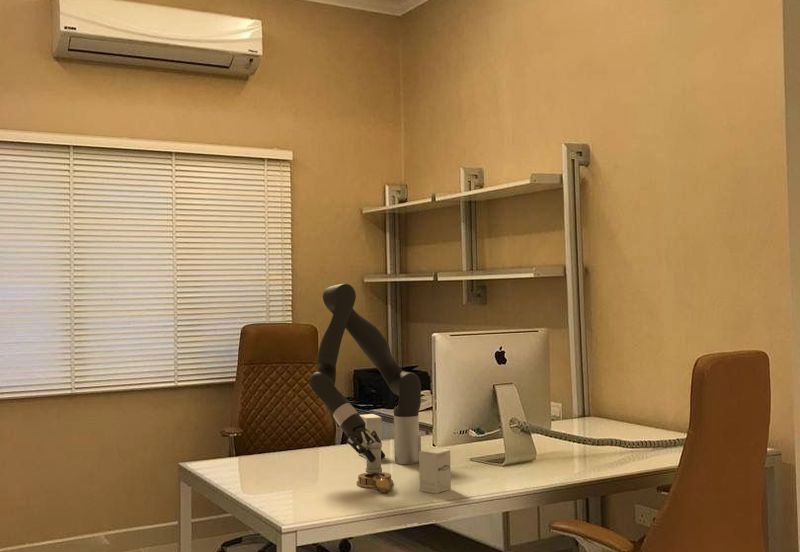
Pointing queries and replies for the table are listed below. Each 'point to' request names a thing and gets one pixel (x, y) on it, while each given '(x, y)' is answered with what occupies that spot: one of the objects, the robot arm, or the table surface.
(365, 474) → the bronze ring
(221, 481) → the table surface
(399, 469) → the table surface
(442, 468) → the supplement box
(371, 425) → the skincare box
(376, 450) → the grey flanged cylinder
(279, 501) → the table surface
